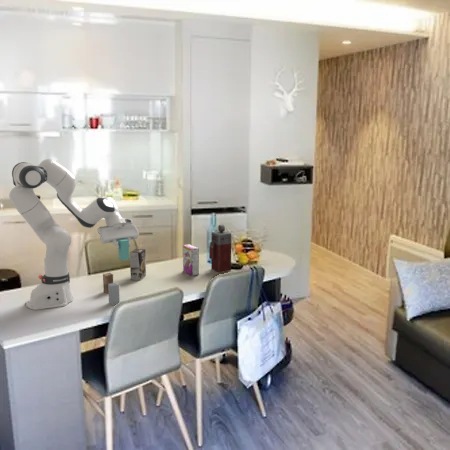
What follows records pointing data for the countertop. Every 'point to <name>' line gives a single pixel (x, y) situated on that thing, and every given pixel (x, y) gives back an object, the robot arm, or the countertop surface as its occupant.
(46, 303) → the robot arm
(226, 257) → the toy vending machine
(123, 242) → the teal block
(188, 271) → the candy bar box
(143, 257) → the coffee box
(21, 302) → the countertop surface
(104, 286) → the walnut block
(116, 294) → the slate block
